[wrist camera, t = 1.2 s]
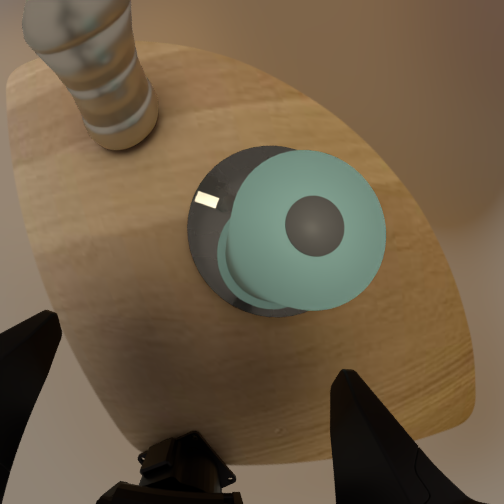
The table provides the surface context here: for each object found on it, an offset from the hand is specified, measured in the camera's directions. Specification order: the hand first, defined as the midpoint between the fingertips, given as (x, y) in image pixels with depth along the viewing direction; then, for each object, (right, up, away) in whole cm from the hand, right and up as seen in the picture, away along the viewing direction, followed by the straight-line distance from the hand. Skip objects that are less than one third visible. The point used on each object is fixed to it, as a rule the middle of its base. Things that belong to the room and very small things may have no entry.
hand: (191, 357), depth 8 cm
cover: (+3, +3, +13) cm, 14 cm away
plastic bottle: (-9, +14, +16) cm, 24 cm away
